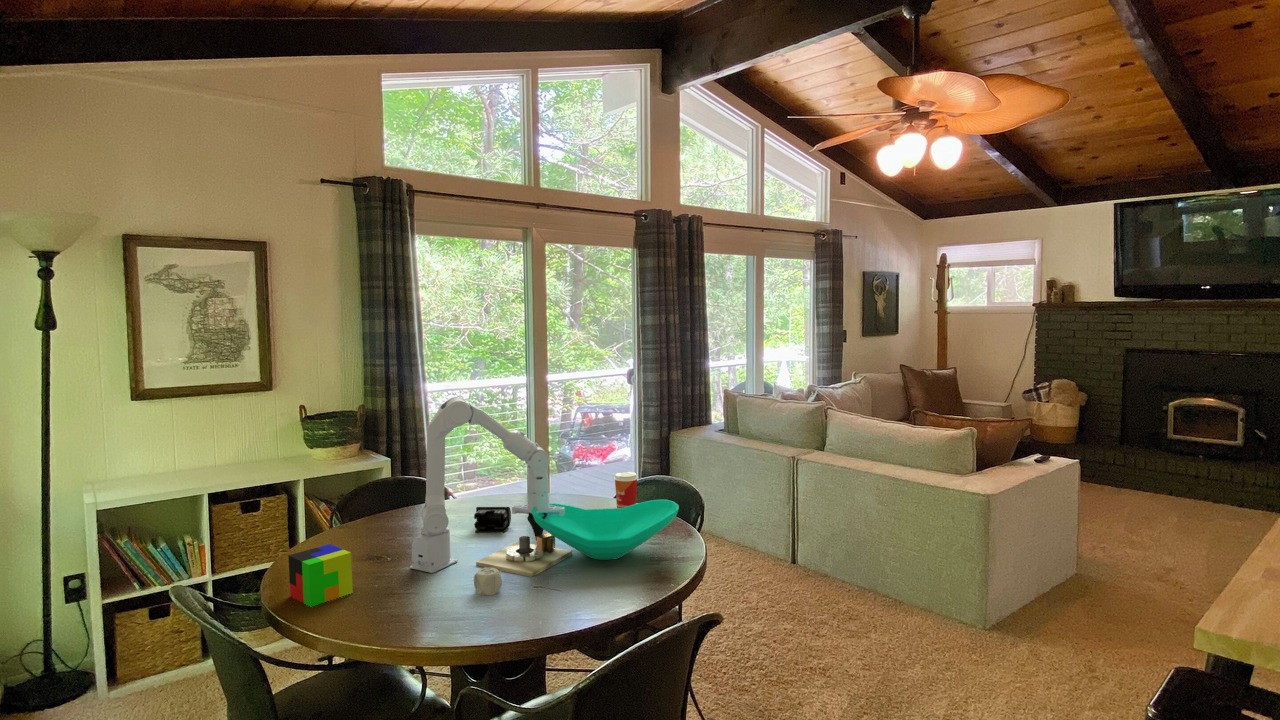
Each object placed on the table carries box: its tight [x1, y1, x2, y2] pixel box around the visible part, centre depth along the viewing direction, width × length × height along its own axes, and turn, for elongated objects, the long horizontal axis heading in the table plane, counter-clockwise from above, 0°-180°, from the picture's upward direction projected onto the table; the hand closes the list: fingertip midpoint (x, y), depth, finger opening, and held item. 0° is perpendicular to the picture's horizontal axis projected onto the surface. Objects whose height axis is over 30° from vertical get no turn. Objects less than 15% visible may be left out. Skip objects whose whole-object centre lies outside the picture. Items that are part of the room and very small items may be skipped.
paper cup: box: [613, 471, 639, 508], centre depth 224 cm, size 8×8×14 cm
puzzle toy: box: [288, 543, 354, 608], centre depth 166 cm, size 10×10×10 cm
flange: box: [506, 532, 556, 562], centre depth 189 cm, size 14×10×4 cm
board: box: [475, 535, 573, 578], centre depth 188 cm, size 18×18×6 cm
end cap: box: [473, 506, 512, 534], centre depth 214 cm, size 10×7×7 cm
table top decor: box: [531, 498, 680, 561], centre depth 190 cm, size 40×28×13 cm
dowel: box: [547, 538, 553, 553], centre depth 191 cm, size 2×2×4 cm
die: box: [473, 567, 503, 597], centre depth 167 cm, size 5×5×5 cm
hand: (538, 539), depth 194 cm, fingers closed
